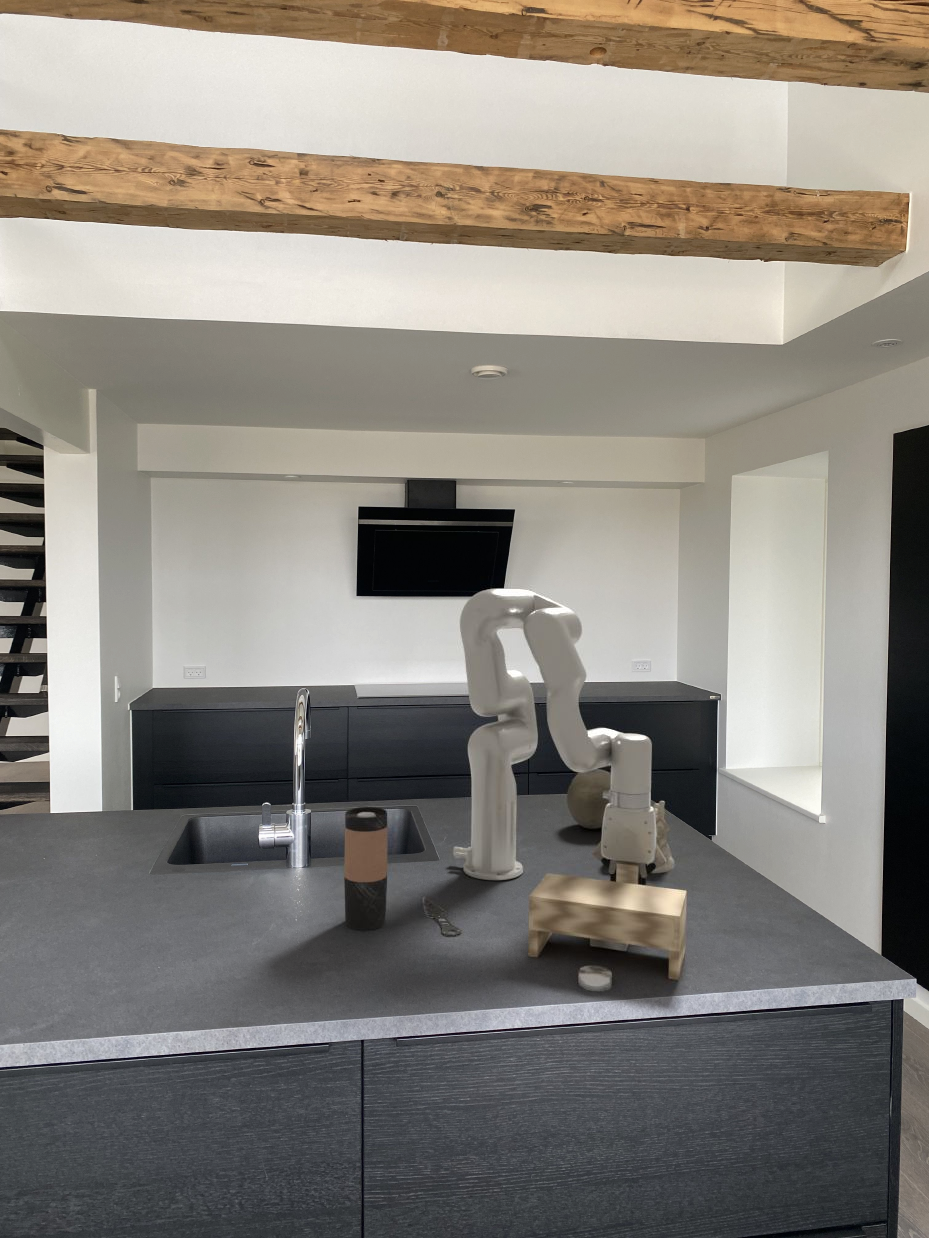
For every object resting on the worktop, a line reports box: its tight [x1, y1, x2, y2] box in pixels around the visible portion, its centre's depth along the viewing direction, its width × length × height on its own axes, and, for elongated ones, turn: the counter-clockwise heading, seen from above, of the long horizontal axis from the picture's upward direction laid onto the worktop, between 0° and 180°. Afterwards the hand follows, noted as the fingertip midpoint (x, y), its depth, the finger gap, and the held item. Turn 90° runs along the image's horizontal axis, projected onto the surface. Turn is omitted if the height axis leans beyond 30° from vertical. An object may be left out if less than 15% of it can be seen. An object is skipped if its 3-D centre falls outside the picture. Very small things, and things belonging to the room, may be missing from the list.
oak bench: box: [527, 872, 688, 981], centre depth 142 cm, size 24×12×10 cm, turn 71°
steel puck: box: [577, 964, 613, 993], centre depth 131 cm, size 5×5×2 cm
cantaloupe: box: [566, 768, 611, 830], centre depth 215 cm, size 14×14×15 cm
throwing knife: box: [422, 896, 462, 937], centre depth 158 cm, size 4×20×1 cm, turn 19°
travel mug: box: [343, 806, 388, 931], centre depth 153 cm, size 8×8×20 cm
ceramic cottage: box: [604, 800, 676, 874], centre depth 190 cm, size 16×16×15 cm
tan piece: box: [589, 860, 640, 952], centre depth 154 cm, size 6×24×8 cm, turn 161°
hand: (628, 893), depth 164 cm, fingers closed on tan piece, 4 cm apart
